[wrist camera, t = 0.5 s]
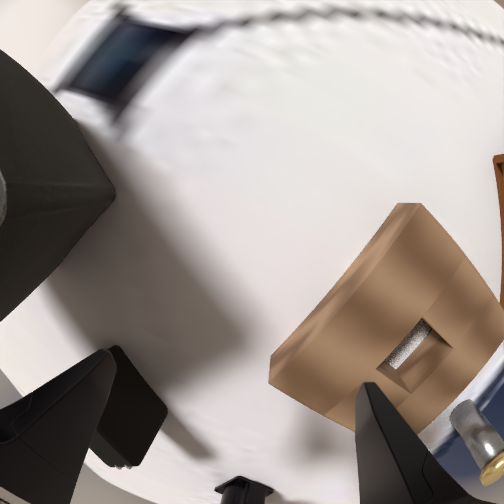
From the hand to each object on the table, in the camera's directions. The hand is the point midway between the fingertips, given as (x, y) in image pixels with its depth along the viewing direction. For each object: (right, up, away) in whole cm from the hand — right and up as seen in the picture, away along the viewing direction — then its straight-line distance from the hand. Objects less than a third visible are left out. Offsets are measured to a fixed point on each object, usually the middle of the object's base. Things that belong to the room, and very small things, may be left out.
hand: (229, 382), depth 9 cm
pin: (+29, -17, +16) cm, 37 cm away
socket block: (+15, -4, +15) cm, 22 cm away
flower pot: (-20, +11, +16) cm, 28 cm away
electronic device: (-13, -11, +19) cm, 26 cm away
